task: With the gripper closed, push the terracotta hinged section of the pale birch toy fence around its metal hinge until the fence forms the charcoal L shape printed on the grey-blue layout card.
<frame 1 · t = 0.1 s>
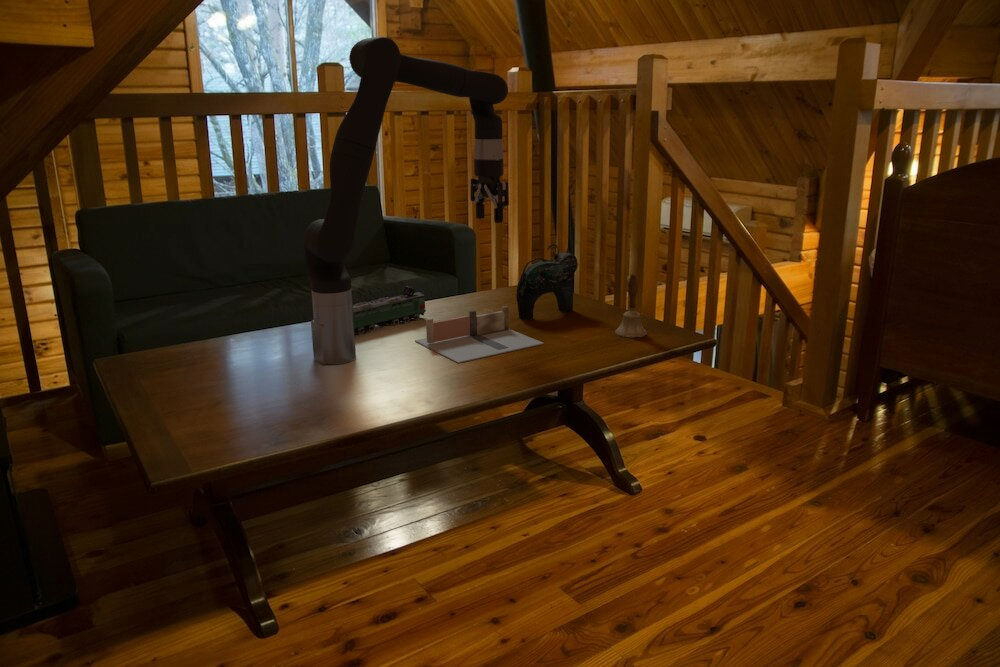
hand: (489, 220, 205), 29 cm above the table, fingers open, 8 cm apart
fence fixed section: (473, 336, 205), resting on layout card
layout card: (478, 342, 200), on the table
toy train: (380, 328, 214), on the table
black animal figurine: (547, 314, 226), on the table
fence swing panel: (448, 327, 200), point 4 cm above the table, hinge at 0.0°
hand bell: (631, 334, 207), on the table
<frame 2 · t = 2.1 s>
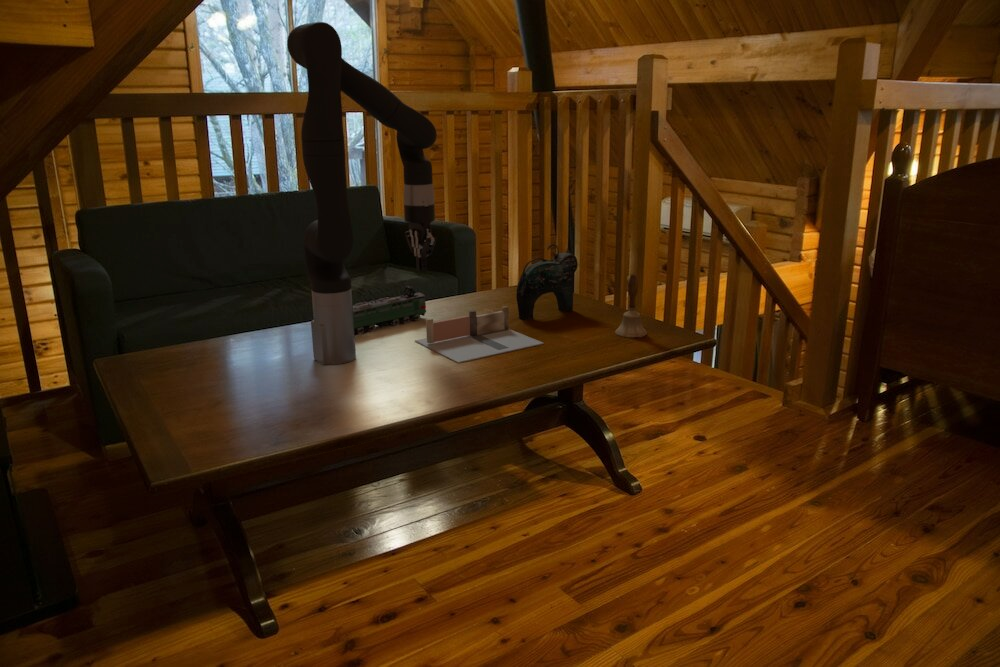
hand: (421, 271, 198), 18 cm above the table, fingers closed
nothing on the table moved.
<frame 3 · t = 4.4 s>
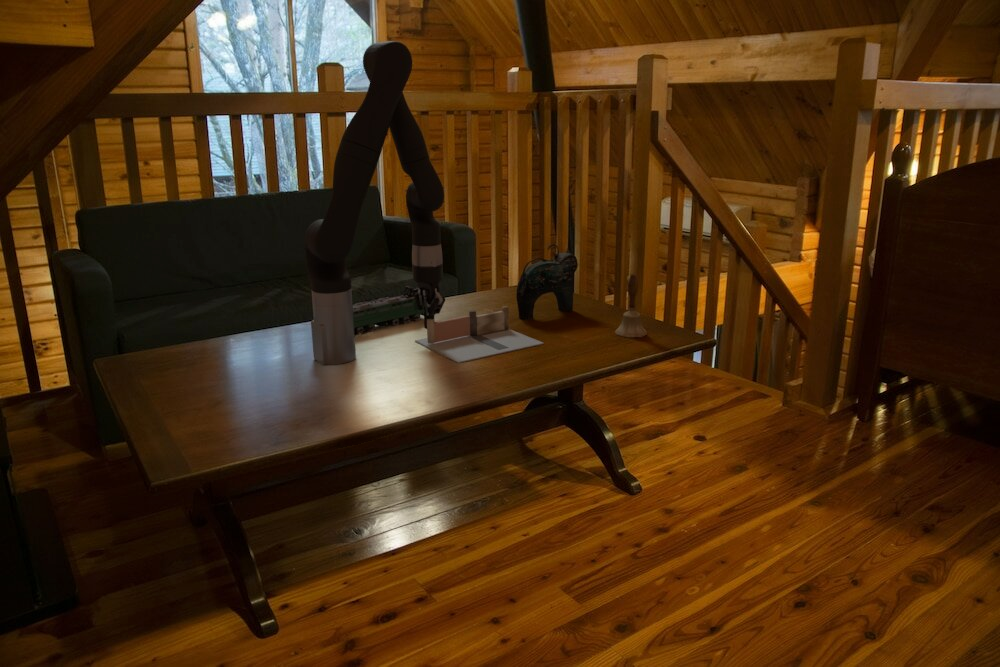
hand: (429, 328, 200), 4 cm above the table, fingers closed
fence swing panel: (448, 327, 200), point 4 cm above the table, hinge at 1.7°, touching gripper
everything else where it was.
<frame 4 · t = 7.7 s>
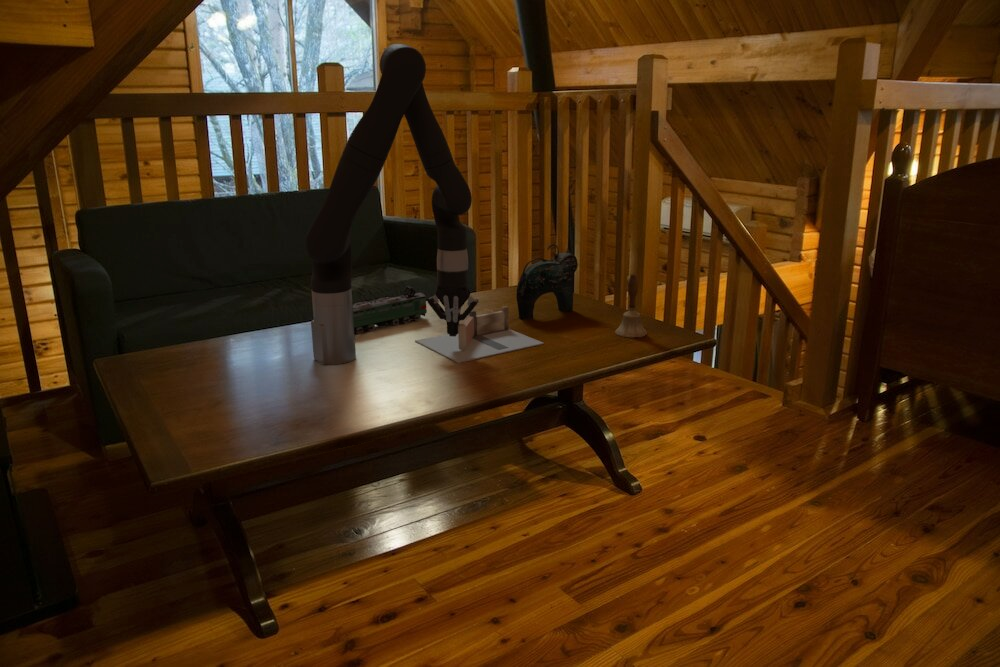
hand: (453, 335, 194), 4 cm above the table, fingers closed
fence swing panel: (466, 330, 197), point 4 cm above the table, hinge at 45.4°, touching gripper
everything else where it was.
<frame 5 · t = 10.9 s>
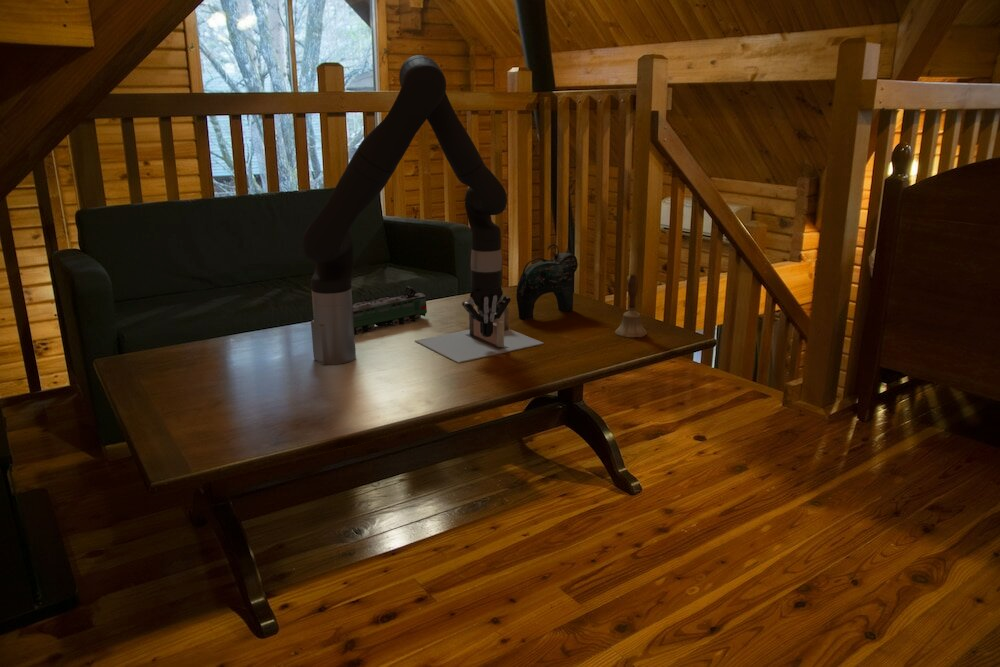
hand: (486, 336, 194), 3 cm above the table, fingers closed
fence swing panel: (488, 329, 198), point 4 cm above the table, hinge at 89.4°
everything else where it was.
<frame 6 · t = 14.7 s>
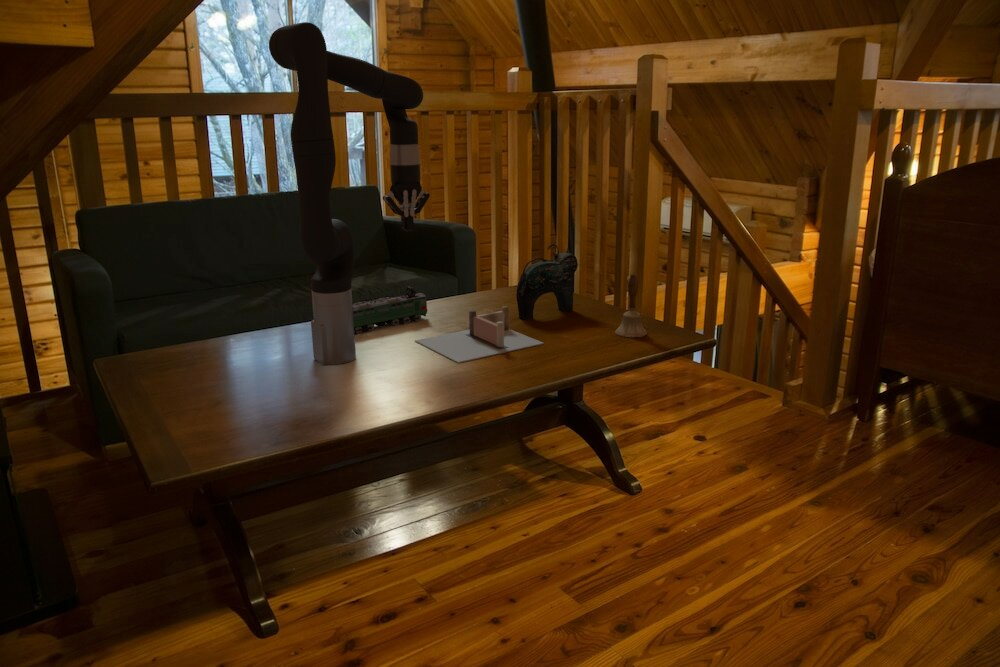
hand: (407, 230, 203), 27 cm above the table, fingers closed
nothing on the table moved.
at the end: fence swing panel at +89° (first picture: +0°); the gripper is holding nothing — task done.
